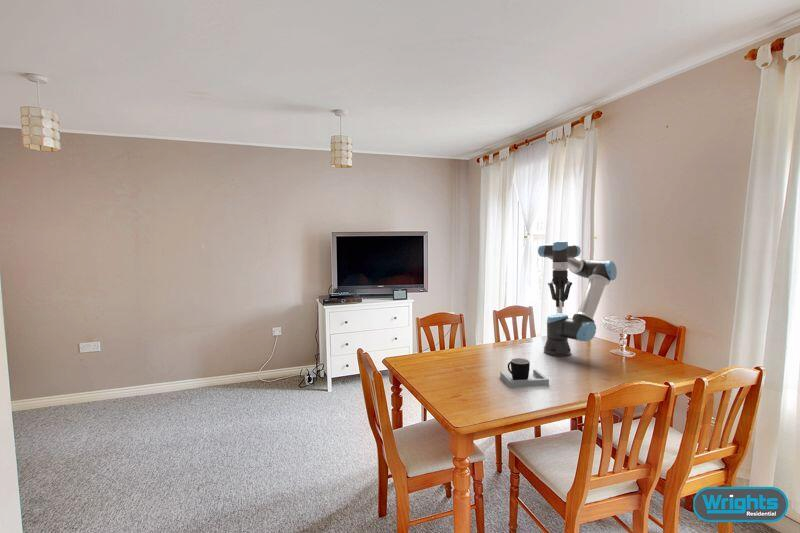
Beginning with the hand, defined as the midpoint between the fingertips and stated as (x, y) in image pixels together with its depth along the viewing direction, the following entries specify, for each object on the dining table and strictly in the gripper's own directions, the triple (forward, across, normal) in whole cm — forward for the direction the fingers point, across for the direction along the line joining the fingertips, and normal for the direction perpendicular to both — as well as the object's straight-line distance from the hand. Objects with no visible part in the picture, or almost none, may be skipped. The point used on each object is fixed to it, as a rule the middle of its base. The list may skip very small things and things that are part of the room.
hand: (559, 312), depth 206 cm
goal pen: (+29, -28, -19) cm, 45 cm away
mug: (+30, -30, -16) cm, 45 cm away
